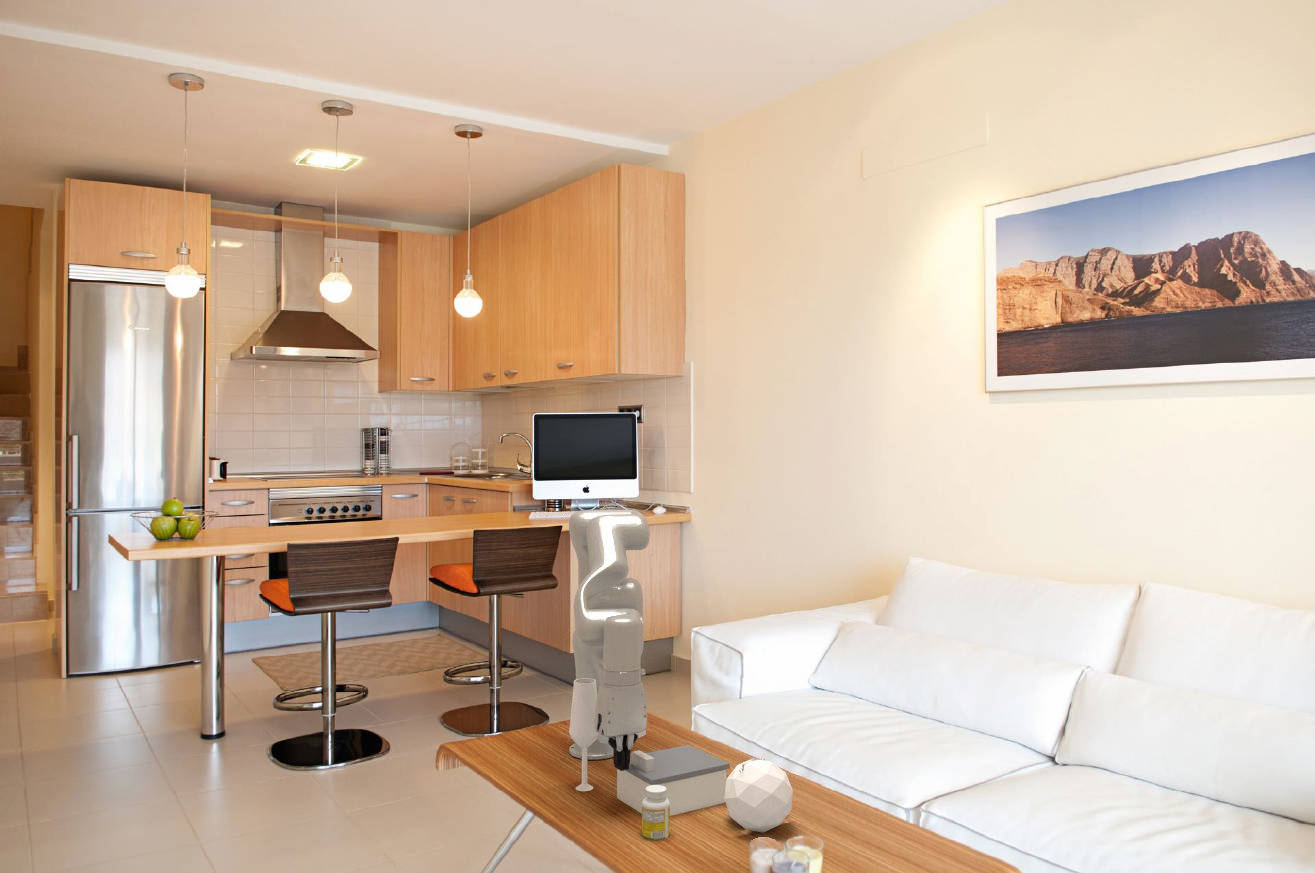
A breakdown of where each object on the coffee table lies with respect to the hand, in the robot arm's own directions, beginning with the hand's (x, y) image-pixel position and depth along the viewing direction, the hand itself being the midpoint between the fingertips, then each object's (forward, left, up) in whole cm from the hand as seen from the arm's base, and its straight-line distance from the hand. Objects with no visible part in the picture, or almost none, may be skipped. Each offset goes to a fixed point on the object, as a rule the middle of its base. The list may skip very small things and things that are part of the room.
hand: (621, 768), depth 188 cm
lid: (0, +12, -2) cm, 12 cm away
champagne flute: (-16, 0, -10) cm, 19 cm away
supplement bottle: (+13, 0, -10) cm, 16 cm away
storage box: (0, +12, -10) cm, 15 cm away
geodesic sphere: (+19, +20, -10) cm, 29 cm away
